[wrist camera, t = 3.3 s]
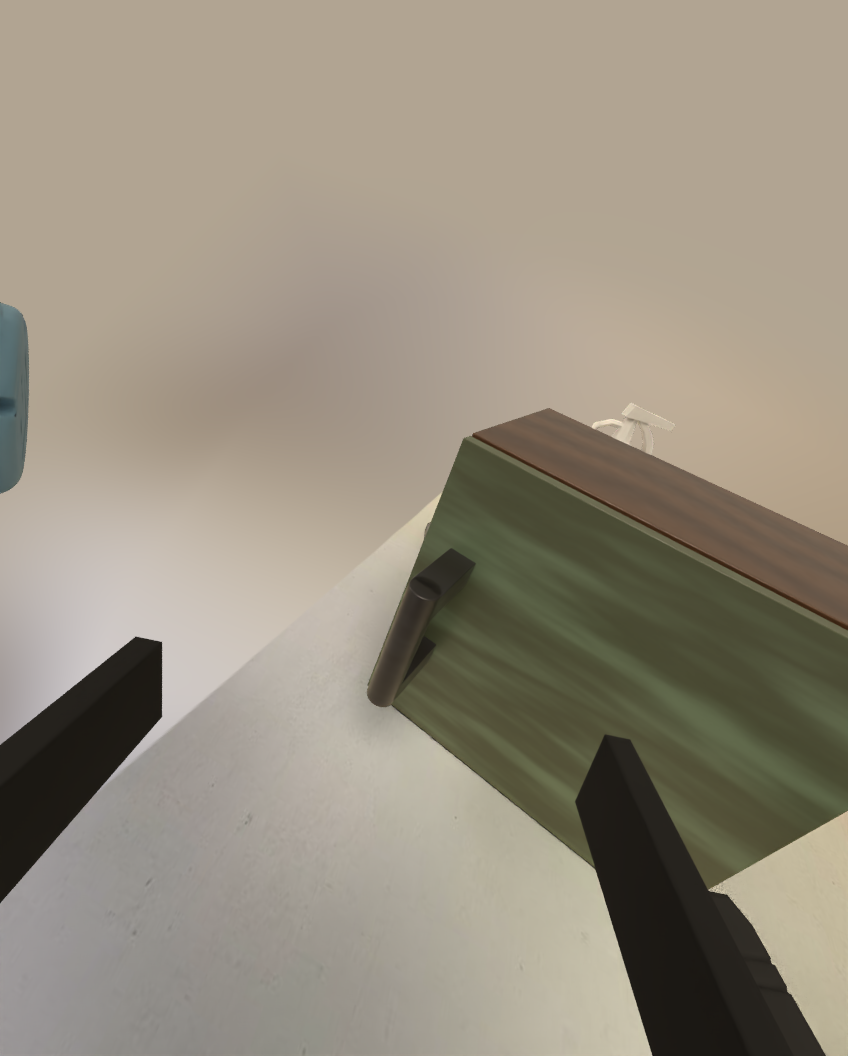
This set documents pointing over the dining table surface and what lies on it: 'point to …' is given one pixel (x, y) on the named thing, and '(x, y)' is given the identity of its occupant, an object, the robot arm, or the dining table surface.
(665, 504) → the cupboard
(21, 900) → the dining table surface
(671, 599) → the cupboard door
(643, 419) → the fire extinguisher
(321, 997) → the dining table surface
